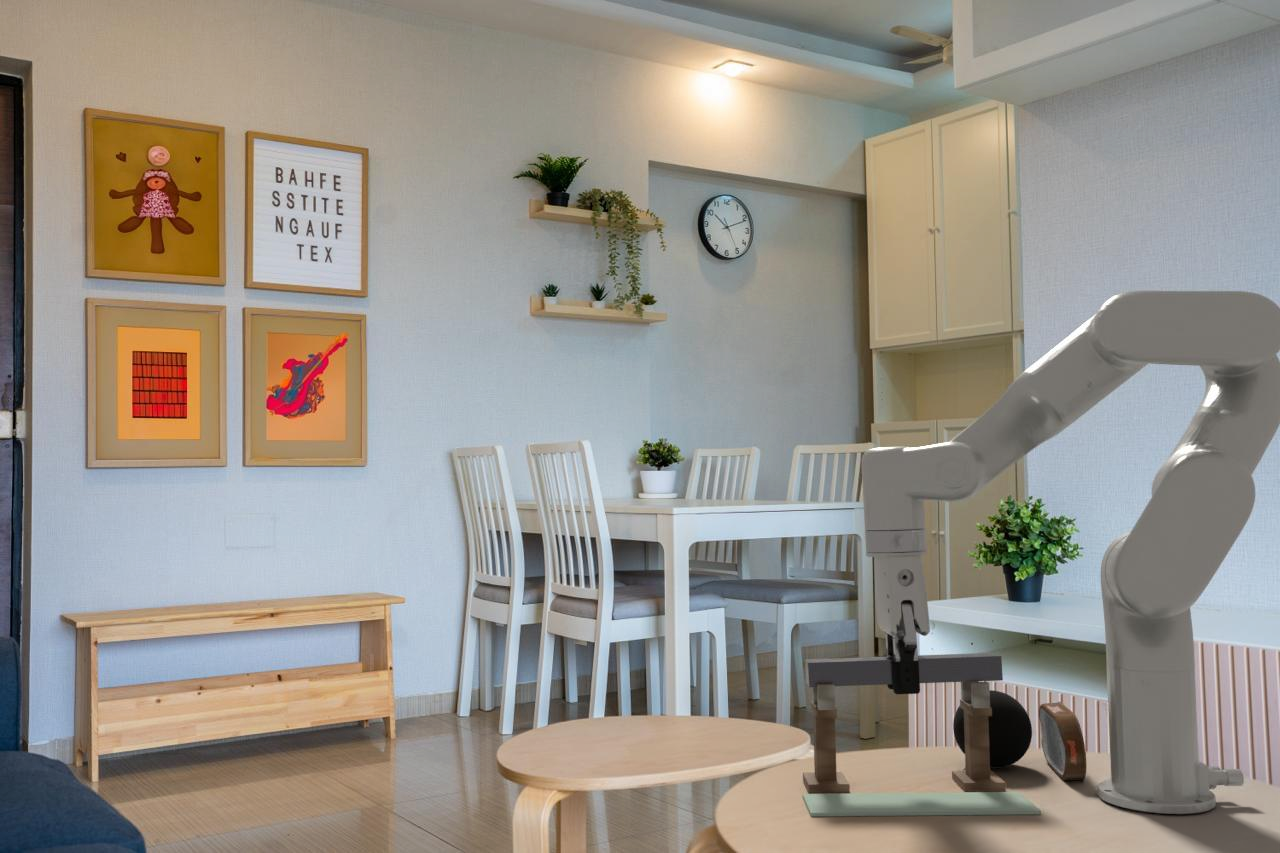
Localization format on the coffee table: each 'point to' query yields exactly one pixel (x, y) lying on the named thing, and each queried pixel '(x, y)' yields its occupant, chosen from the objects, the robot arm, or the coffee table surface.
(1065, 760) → the tin
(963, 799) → the mat
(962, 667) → the rail
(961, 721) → the decorative ball
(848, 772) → the coffee table surface
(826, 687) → the rack
